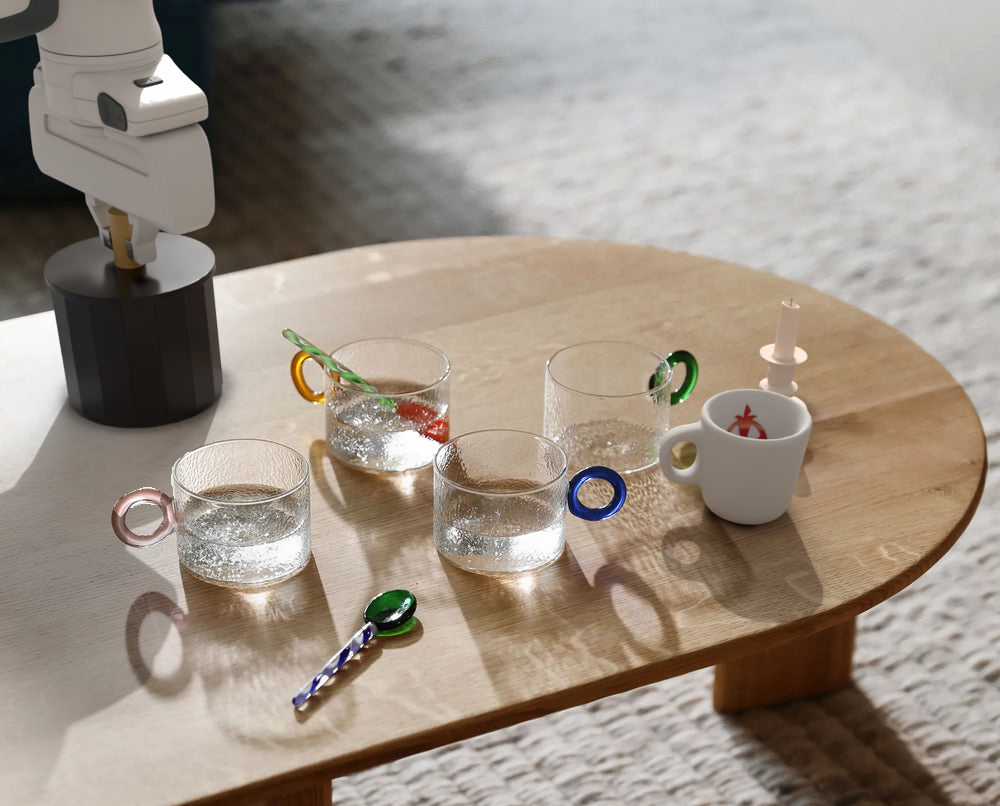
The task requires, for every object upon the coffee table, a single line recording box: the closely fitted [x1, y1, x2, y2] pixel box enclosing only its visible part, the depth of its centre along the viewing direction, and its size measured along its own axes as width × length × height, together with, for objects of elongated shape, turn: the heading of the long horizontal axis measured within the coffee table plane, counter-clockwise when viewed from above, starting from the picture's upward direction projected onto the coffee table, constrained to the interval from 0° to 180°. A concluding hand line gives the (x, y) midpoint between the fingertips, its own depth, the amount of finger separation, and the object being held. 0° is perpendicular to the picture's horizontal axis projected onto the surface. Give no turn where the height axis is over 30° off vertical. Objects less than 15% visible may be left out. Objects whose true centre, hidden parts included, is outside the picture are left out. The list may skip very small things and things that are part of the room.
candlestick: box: [758, 297, 808, 410], centre depth 115 cm, size 5×5×10 cm
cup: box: [658, 388, 813, 526], centre depth 103 cm, size 11×8×8 cm
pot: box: [50, 275, 224, 429], centre depth 115 cm, size 13×13×11 cm
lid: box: [43, 207, 217, 305], centre depth 111 cm, size 13×13×6 cm
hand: (129, 254), depth 111 cm, fingers closed on lid, 2 cm apart
